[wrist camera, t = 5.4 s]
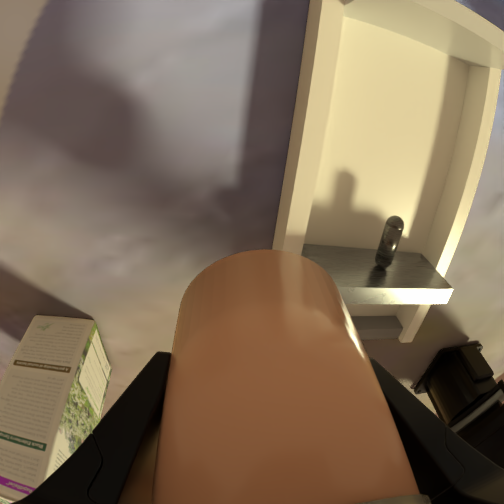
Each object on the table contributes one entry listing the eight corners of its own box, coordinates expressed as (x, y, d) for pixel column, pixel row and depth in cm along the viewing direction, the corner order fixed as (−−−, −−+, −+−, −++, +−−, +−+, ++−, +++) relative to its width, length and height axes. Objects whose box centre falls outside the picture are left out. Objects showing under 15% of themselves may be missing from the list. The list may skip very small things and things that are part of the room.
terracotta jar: (321, 376, 12) (365, 560, 5) (176, 371, 12) (158, 573, 5) (366, 252, 10) (501, 495, 3) (174, 236, 9) (98, 552, 2)
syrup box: (33, 312, 20) (-42, 475, 8) (98, 317, 21) (39, 512, 8) (56, 362, 23) (9, 510, 10) (116, 369, 24) (84, 536, 11)
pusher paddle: (416, 266, 19) (446, 303, 16) (298, 259, 18) (315, 303, 15) (436, 210, 17) (473, 241, 14) (312, 192, 16) (336, 225, 13)
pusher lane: (398, 320, 23) (431, 377, 18) (259, 319, 22) (269, 391, 16) (476, 57, 13) (546, 65, 8) (310, -6, 12) (353, -43, 7)
